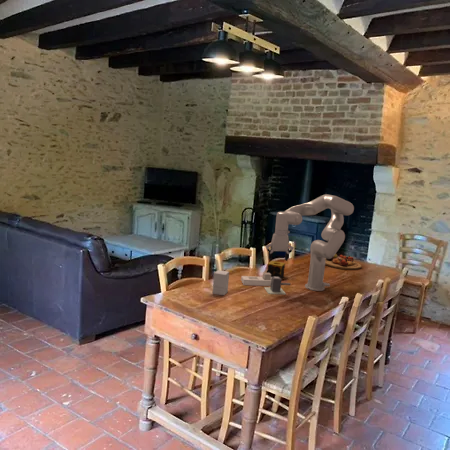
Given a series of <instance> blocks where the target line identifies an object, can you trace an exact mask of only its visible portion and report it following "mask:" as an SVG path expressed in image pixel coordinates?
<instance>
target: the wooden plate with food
mask: <svg viewBox="0 0 450 450" xmlns="http://www.w3.org/2000/svg"><path fill="white" fill-rule="evenodd" d="M325 266H328V267H331V268H335V269H341V270H349V271H354V270H357V271H358V270H361V269H362V264H360V263H359V262H356V261H354V256H351V255H348V256H346V255H343V254H339V256H338V253H336V254H335V255H334V256H333V257H332V258H330V259H327V258H325Z"/></svg>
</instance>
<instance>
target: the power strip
mask: <svg viewBox="0 0 450 450" xmlns="http://www.w3.org/2000/svg"><path fill="white" fill-rule="evenodd" d="M240 281H242V282H241V283H243V284H242V285H243V286H257V287H258V286H259V287H260V286H261V287H262V286H263V287H271V280H264V279H263V276H253V275H252V276H251V275H249V276H248V275H241V278H240ZM282 285H283V286H291V283H290V282H281V286H282Z"/></svg>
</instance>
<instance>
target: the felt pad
mask: <svg viewBox="0 0 450 450" xmlns="http://www.w3.org/2000/svg"><path fill="white" fill-rule="evenodd" d="M263 287H264V288H263V289H264V290H265V291H266V293H267V294H268V295H286V294H287V293H286V292H285V290H283V288H282V287H281V289H280V292H272V291H271V289H270V287H271V286H263Z"/></svg>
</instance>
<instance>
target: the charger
mask: <svg viewBox="0 0 450 450" xmlns="http://www.w3.org/2000/svg"><path fill="white" fill-rule="evenodd" d="M282 279H283V278H282ZM282 279H281V278H280V277H271V286H269V287H270V289H271V291H272V292H280V289H281V288H282V287H281V286H282V285H281V283H282Z"/></svg>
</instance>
